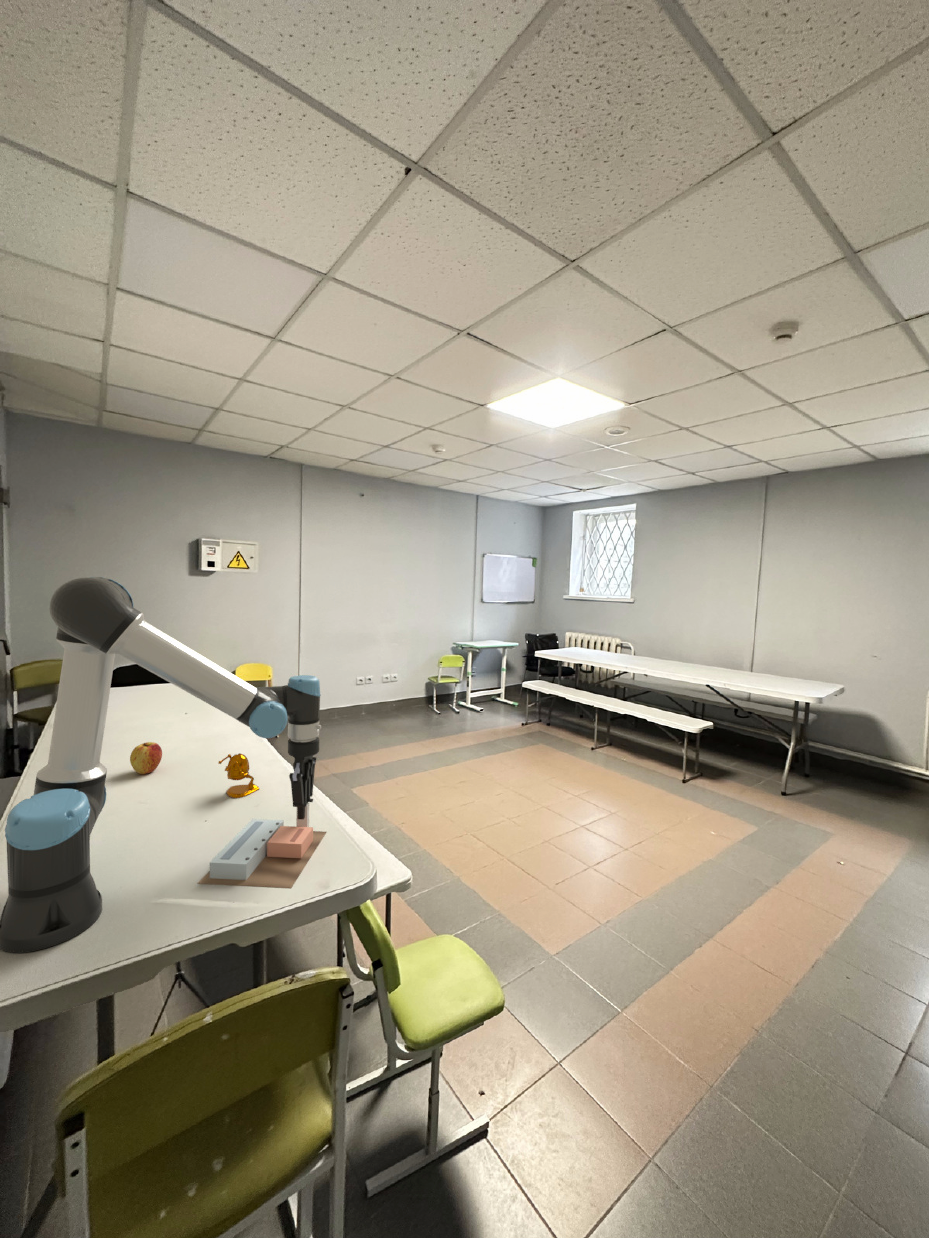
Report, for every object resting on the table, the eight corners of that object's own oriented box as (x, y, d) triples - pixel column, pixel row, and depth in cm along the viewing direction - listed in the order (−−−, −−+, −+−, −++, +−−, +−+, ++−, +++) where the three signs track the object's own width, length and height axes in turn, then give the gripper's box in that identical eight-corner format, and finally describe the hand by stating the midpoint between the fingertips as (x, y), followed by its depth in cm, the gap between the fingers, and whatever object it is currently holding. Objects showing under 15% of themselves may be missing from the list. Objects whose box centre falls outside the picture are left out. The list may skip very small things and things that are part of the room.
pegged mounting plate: (246, 879, 106) (246, 863, 106) (209, 878, 107) (209, 861, 106) (283, 833, 126) (283, 819, 126) (252, 832, 127) (252, 818, 126)
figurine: (217, 791, 152) (217, 753, 151) (254, 783, 159) (254, 746, 158) (225, 801, 145) (225, 761, 145) (263, 792, 152) (263, 754, 151)
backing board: (291, 891, 104) (291, 888, 104) (197, 886, 105) (197, 883, 105) (326, 834, 128) (326, 831, 128) (250, 830, 129) (250, 827, 129)
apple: (159, 775, 163) (158, 745, 162) (126, 778, 159) (126, 748, 159) (164, 766, 171) (164, 737, 170) (133, 768, 168) (133, 739, 167)
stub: (301, 858, 115) (301, 843, 115) (267, 856, 115) (267, 842, 115) (313, 840, 123) (313, 826, 123) (281, 839, 123) (281, 825, 123)
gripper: (309, 746, 118) (308, 842, 119) (326, 730, 131) (325, 817, 132) (278, 745, 118) (277, 841, 120) (298, 729, 131) (297, 816, 133)
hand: (302, 828), depth 126 cm, fingers closed
